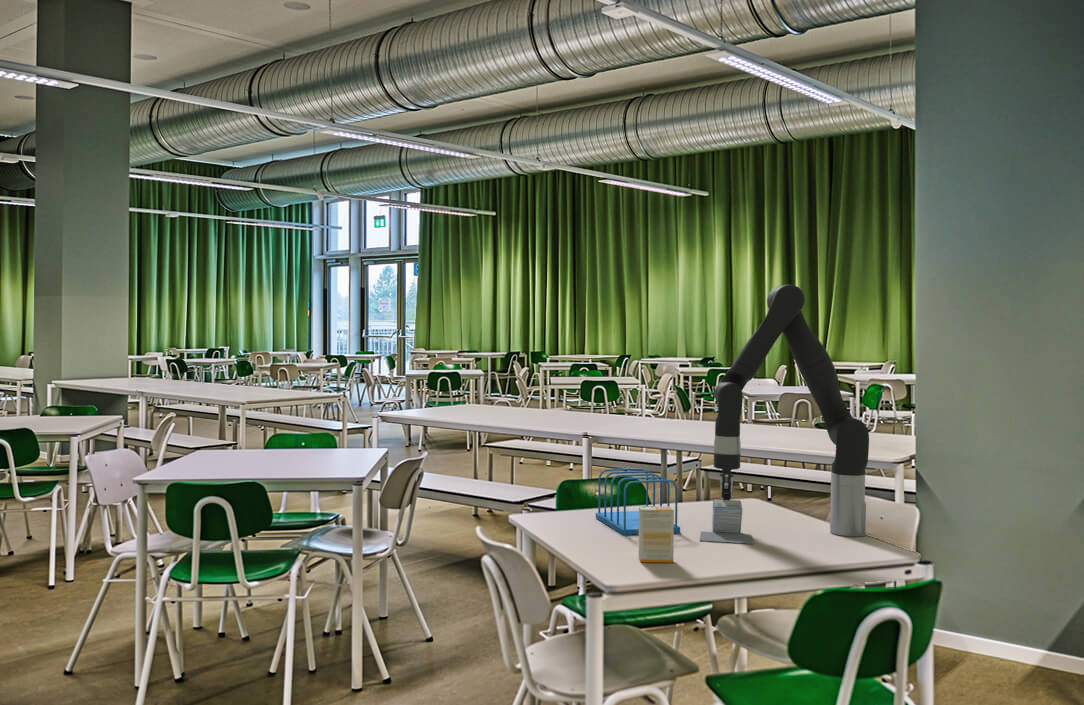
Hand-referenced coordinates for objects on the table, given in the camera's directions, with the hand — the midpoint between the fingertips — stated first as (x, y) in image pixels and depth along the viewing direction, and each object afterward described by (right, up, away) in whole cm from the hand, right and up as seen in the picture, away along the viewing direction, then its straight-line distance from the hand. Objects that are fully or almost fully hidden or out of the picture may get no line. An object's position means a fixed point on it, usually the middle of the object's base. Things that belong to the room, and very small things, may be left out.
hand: (725, 511), depth 251 cm
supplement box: (-25, -5, -37) cm, 45 cm away
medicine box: (0, -5, -1) cm, 5 cm away
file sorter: (-25, -6, +6) cm, 26 cm away
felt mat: (-2, -6, -10) cm, 11 cm away
